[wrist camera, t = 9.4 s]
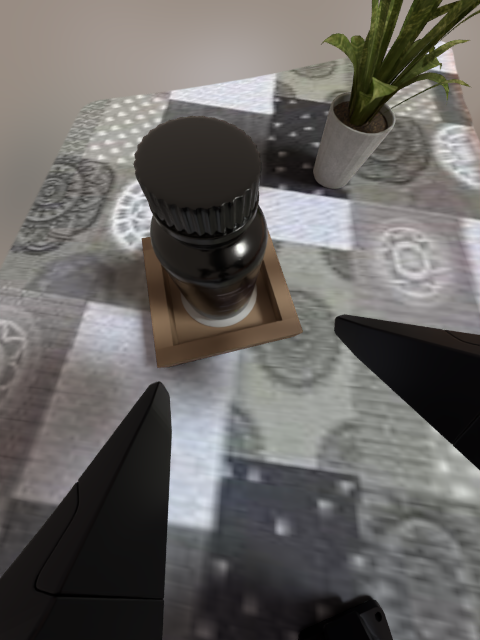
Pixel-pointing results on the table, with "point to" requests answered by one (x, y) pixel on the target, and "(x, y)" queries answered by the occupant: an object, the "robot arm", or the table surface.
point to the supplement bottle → (205, 210)
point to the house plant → (382, 81)
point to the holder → (217, 335)
